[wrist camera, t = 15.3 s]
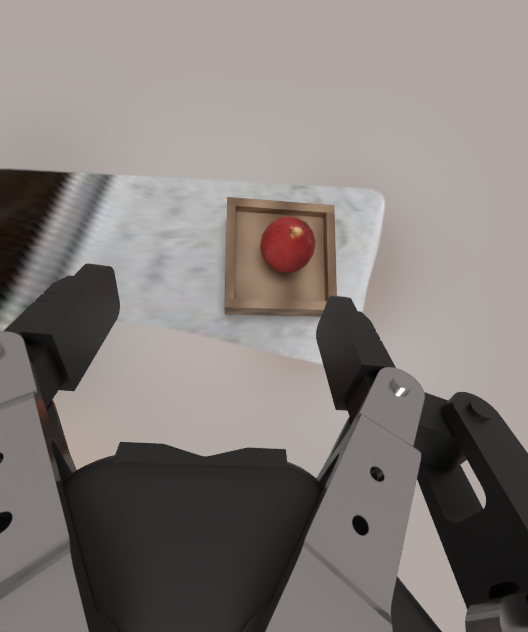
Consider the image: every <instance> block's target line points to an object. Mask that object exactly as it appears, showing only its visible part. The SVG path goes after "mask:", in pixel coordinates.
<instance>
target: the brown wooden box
mask: <svg viewBox="0 0 528 632" xmlns="http://www.w3.org/2000/svg"><path fill="white" fill-rule="evenodd" d="M287 216H289V217H295V218H298V219H300V220H302V221H304V222H306V223H307V224H308V225H309V227H310V228H311V229H312V231H313V233H314V237H315V242H316V245H315V250H314V255H313V256H312V258H311V259H310V261H309V262H308V263H307V265H306V266H304V267H303V268H301V269H300V270H299V271H295V272H290V273H283V272H279V271H276V270H275V269H273V268H272V267H270V266H269V265H268V264H267V263H266V261H265V260H264V258H263V257H262V253H261V249H260V245H261V237H262V234H263V233H264V231H265V230H266V228H267V227H268V225H269V224H271V223H272V222H274V221H275V220H276V219H278V218H282V217H287ZM330 296H337V285H336V250H335V216H334V205H323V204H310V203H297V202H284V201H271V200H258V199H245V198H232V197H227V233H226V275H225V314H241V315H285V316H322V313H323V310H324V308H325V305H326V303H327V300H328V298H329V297H330Z"/></svg>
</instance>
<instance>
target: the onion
mask: <svg viewBox="0 0 528 632" xmlns="http://www.w3.org/2000/svg"><path fill="white" fill-rule="evenodd" d="M315 245H316V242H315V237H314V233H313V231H312V229H311V228H310V227H309V225H308V224H307V223H306V222H304V221H302V220H300V219H298V218H295V217H289V216H287V217H282V218H278V219H276V220H275V221H274V222H272V223H271V224H269V225H268V227H267V228H266V230H265V231H264V233H263V234H262V237H261V245H260V249H261V253H262V257H263V258H264V260H265V261H266V263H267V264H268V265H269V266H270V267H272V268H273V269H275V270H276V271H279V272H283V273H290V272H295V271H299V270H300V269H301V268H303V267H304V266H306V265H307V263H308V262H309V261H310V259H311V258H312V256H313V255H314V250H315Z"/></svg>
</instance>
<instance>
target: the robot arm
mask: <svg viewBox="0 0 528 632" xmlns="http://www.w3.org/2000/svg"><path fill="white" fill-rule="evenodd" d="M119 310H120V302H119V296H118V290H117V285H116V279H115V273H114V270H113V268H112V267H110V266H103V265H95V264H85V265H84V266H83V267H82V268H81V269H80V270H79V271H78V272H77V273H76V274H75V275H74V276H67V277H65V278H63V279H61V280H59V281H57V282H55V283H53V284H52V285H51V286H50V287H49V288H48V289H47V290H46V291H45V292H44V295H43V294H42V295H41V296H40V297H39V298H37V299H36V302H35V303H34V302H33V303H32V304H31V305H30V306H29V307H28V308H27V309H26V310H25V311H24V312H23V313H22V314H21V315H20V316H19V317H18V318H17V319H16V320H15V321H14V322H13V323H11V324H10V325H9V326H8V327H7V328H6V329H5V330H4V331H0V632H442V631H441V630H440V629H439V628H438V626H437V625H436V624H435V623H434V621H433V620H432V619H431V618H430V616H429V615H428V614H427V613H426V611H425V610H424V609H423V608H422V607H421V605H420V604H419V603H418V602H417V600H416V599H415V598H414V597H413V595H412V594H411V593H410V592H409V590H408V589H407V588H406V587H405V585H404V584H403V583H402V582H401V581H400V579H399V578H398V577H397V573H398V568H399V563H400V558H401V553H402V549H403V543H404V538H405V534H406V529H407V524H408V519H409V514H410V509H411V504H412V499H413V495H414V490H415V485H416V480H418V482H419V485H420V488H421V490H422V493H423V495H424V498H425V501H426V503H427V506H428V508H429V511H430V514H431V516H432V519H433V522H434V524H435V527H436V529H437V532H438V534H439V537H440V540H441V542H442V545H443V547H444V550H445V553H446V555H447V558H448V560H449V563H450V566H451V568H452V571H453V573H454V576H455V579H456V581H457V584H458V586H459V589H460V591H461V594H462V597H463V599H464V602H465V604H466V607H467V610H468V611H467V614H466V620H465V627H466V632H528V453H527V452H526V450H525V449H524V448H523V446H522V445H521V444H520V442H519V441H518V439H517V438H516V437H515V435H514V434H513V433H512V431H511V430H510V428H509V427H508V426H507V424H506V423H505V421H504V420H503V419H502V417H501V416H500V415H499V413H498V412H497V411H496V410H495V409H494V408H493V407H492V406H491V405H490V404H488V403H487V402H486V401H484V400H483V399H481V398H479V397H478V396H475V395H473V394H470V393H467V392H458V393H456V394H454V395H453V396H452V397H451V398H450V399H449V400H445V399H442V398H439V397H436V396H434V395H431V394H428V393H425V392H424V390H423V388H422V387H421V385H420V384H419V382H418V381H417V380H416V379H415V378H414V377H412V376H411V375H410V374H408V373H406V372H405V371H403V370H400V369H397V368H396V367H395V365H394V363H393V362H392V360H391V358H390V356H389V354H388V352H387V350H386V349H385V347H384V345H383V343H382V341H380V337H379V335H378V334H377V332H376V330H375V328H374V326H373V324H372V323H371V321H370V320H369V319H368V318H367V317H366V316H365V315H364V314H363V313H362V312H359V311H357V309H356V307H355V305H354V303H353V301H352V299H351V298H348V297H340V296H330V297H329V298H328V300H327V303H326V305H325V308H324V310H323V313H322V316H321V318H320V321H319V323H318V326H317V331H316V339H317V343H318V347H319V351H320V354H321V358H322V361H323V365H324V369H325V372H326V376H327V379H328V383H329V386H330V391H331V394H332V398H333V402H334V405H335V409H336V410H346V411H348V413H349V416H350V417H349V418H348V420H347V422H346V423H345V425H344V427H343V429H342V431H341V434H340V435H339V437H338V439H337V441H336V443H335V445H334V447H333V449H332V451H331V453H330V455H329V457H328V459H327V461H326V463H325V465H324V466H323V468H322V470H321V472H320V473H319V475H318V477H317V478H315V477H314V476H312V475H311V474H310V473H308V472H307V471H305V470H304V469H302V468H301V467H299V466H296V465H294V464H292V463H289V462H287V457H286V450H285V449H265V448H244V449H239V450H235V451H230V452H226V453H221V454H217V455H212V456H208V457H205V456H200V455H197V454H193V453H190V452H187V451H184V450H181V449H178V448H175V447H172V446H169V445H165V444H155V443H133V442H120V444H119V446H118V449H117V452H116V454H115V455H114V456H109V457H106V458H103V459H100V460H97V461H95V462H92V463H90V464H88V465H86V466H84V467H82V468H80V469H78V470H76V467H75V465H74V462H73V460H72V458H71V455H70V452H69V449H68V446H67V442H66V439H65V436H64V433H63V430H62V426H61V423H60V419H59V416H58V413H57V410H56V407H55V404H54V401H53V398H54V396H55V395H56V393H57V391H58V390H65V391H75V389H76V387H77V386H78V384H79V382H80V381H81V379H82V377H83V376H84V374H85V372H86V371H87V369H88V367H89V365H90V364H91V362H92V360H93V359H94V357H95V355H96V354H97V352H98V350H99V348H100V347H101V345H102V343H103V342H104V340H105V338H106V337H107V335H108V333H109V332H110V330H111V328H112V326H113V325H114V323H115V321H116V320H117V318H118V315H119ZM466 460H468V462H469V464H470V466H471V467H472V469H473V471H474V473H475V475H476V477H477V478H478V480H479V482H480V484H481V486H482V487H483V490H484V492H485V496H486V505H485V508H484V509H483V508H482V506H481V504H480V502H479V500H478V498H477V496H476V494H475V492H474V490H473V488H472V486H471V484H470V483H469V481H468V479H467V477H466V475H465V473H464V471H463V469H462V467H461V465H460V464H462V463H463V462H464V461H466Z"/></svg>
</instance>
